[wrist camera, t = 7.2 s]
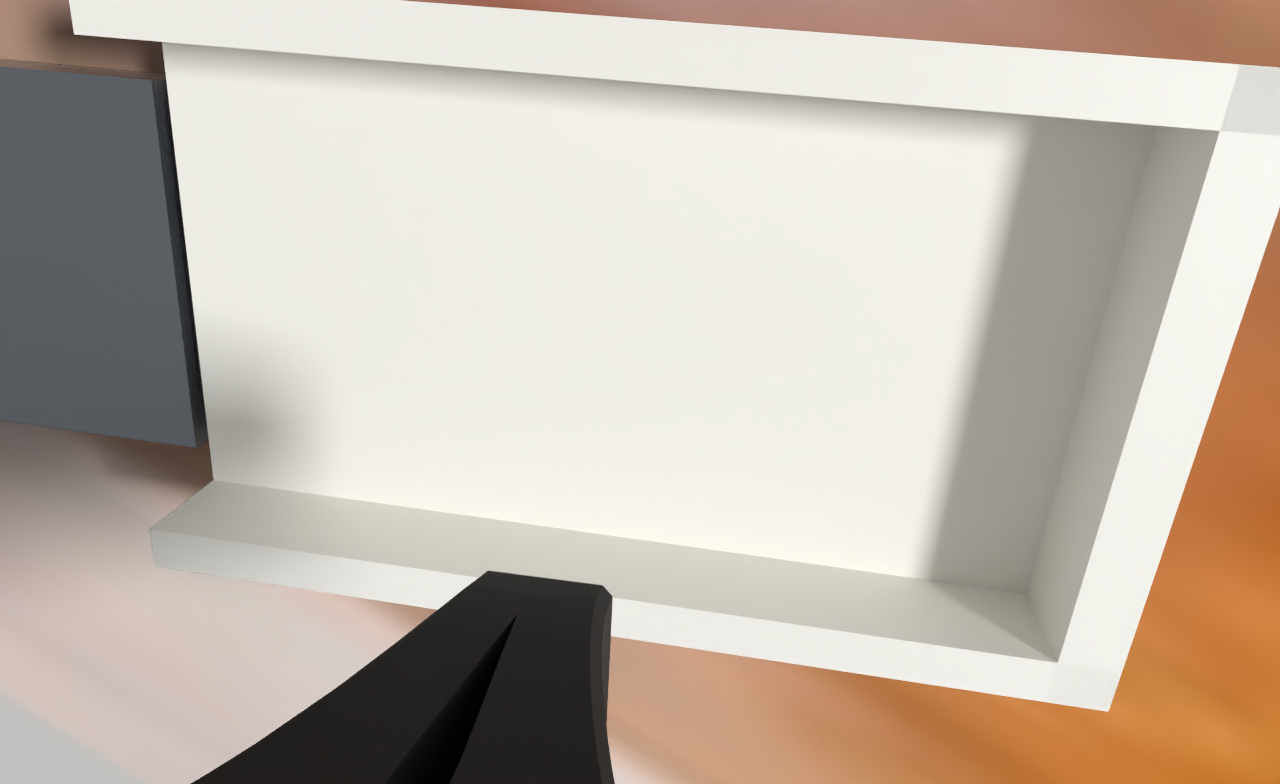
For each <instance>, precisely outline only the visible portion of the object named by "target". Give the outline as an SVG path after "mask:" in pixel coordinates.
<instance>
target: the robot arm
mask: <svg viewBox="0 0 1280 784" xmlns="http://www.w3.org/2000/svg"><path fill="white" fill-rule="evenodd" d="M612 600H613V596H612V595H611V594H610V593H609V592H608V591H607V590H606V588H605V587H604V586H603V585H597V584H589V583H581V582H574V581H566V580H558V579H550V578H543V577H535V576H527V575H519V574H512V573H504V572H496V571H487V572H486V573H484V574H483V575H482V576H480V577H479V578H478V579H476V580H475V581H474V582H472V583H471V584H470V585H468V586H467V587H466V588H464V589H463V590H462V591H461V592H459V593H458V594H457V595H456V596H454V597H453V598H452V599H451V600H449V601H448V602H447V603H446V604H444V605H443V606H442V607H441V608H439V609H438V610H437V611H436V612H434V613H433V614H432V615H431V616H429V617H428V618H427V619H426V620H424V621H423V622H422V623H420V624H419V625H418V626H417V627H415V628H414V629H413V630H412V631H410V632H409V633H408V634H407V635H405V636H404V637H403V638H402V639H400V640H399V641H398V642H396V643H395V644H394V645H393V646H391V647H390V648H389V649H387V650H386V651H385V652H383V653H382V654H381V655H379V656H378V657H377V658H375V659H374V660H373V661H371V662H370V663H369V664H367V665H366V666H365V667H363V668H362V669H361V670H360V671H358V672H357V673H356V674H354V675H353V676H352V677H350V678H349V679H348V680H346V681H345V682H344V683H342V684H341V685H340V686H338V687H337V688H336V689H334V690H333V691H331V692H330V693H328V694H327V695H326V696H324V697H323V698H321V699H320V700H318V701H317V702H315V703H314V704H312V705H311V706H310V707H308V708H307V709H305V710H304V711H302V712H301V713H299V714H298V715H297V716H295V717H294V718H292V719H291V720H289V721H288V722H286V723H285V724H283V725H282V726H281V727H279V728H278V729H276V730H275V731H273V732H272V733H270V734H269V735H268V736H266V737H265V738H263V739H262V740H260V741H259V742H257V743H256V744H254V745H253V746H251V747H250V748H248V749H246V750H245V751H243V752H242V753H240V754H239V755H237V756H235V757H234V758H232V759H231V760H229V761H227V762H226V763H224V764H223V765H221V766H219V767H218V768H216V769H214V770H213V771H211V772H210V773H208V774H206V775H205V776H203V777H201V778H200V779H198V780H196V781H195V782H193V783H191V784H615V783H614V778H613V772H612V766H611V759H610V752H609V745H608V738H607V728H606V720H607V700H608V680H609V660H610V640H611V620H612Z"/></svg>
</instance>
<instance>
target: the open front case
mask: <svg viewBox="0 0 1280 784" xmlns="http://www.w3.org/2000/svg"><path fill="white" fill-rule="evenodd" d="M69 4H70V11H71V18H72V24H73V31H74V34H75V35H87V36H99V37H110V38H122V39H134V40H146V41H158V42H162V48H163V56H164V65H165V73H166V82H167V90H168V99H169V107H170V116H171V124H172V133H173V141H174V149H175V158H176V166H177V175H178V183H179V192H180V200H181V209H182V217H183V226H184V234H185V243H186V251H187V260H188V268H189V277H190V285H191V293H192V302H193V310H194V319H195V327H196V336H197V344H198V353H199V361H200V370H201V378H202V387H203V395H204V404H205V412H206V420H207V429H208V437H209V446H210V454H211V463H212V471H213V481H212V482H210V483H209V484H208V485H206V486H205V487H204V488H202V489H201V490H200V491H198V492H197V493H196V494H194V495H193V496H192V497H191V498H189V499H188V500H187V501H185V502H184V503H183V504H181V505H180V506H179V507H177V508H176V509H175V510H174V511H172V512H171V513H170V514H168V515H167V516H166V517H164V518H163V519H162V520H160V521H159V522H158V523H157V524H155V525H154V526H153V527H151V528H150V529H149V531H150V538H151V545H152V551H153V558H154V564H155V567H161V568H168V569H175V570H181V571H188V572H194V573H201V574H207V575H214V576H221V577H227V578H234V579H240V580H247V581H253V582H260V583H267V584H273V585H280V586H286V587H293V588H299V589H306V590H313V591H319V592H326V593H332V594H339V595H345V596H352V597H359V598H365V599H372V600H378V601H385V602H391V603H398V604H405V605H411V606H418V607H424V608H431V609H437V610H438V609H439V608H441V607H442V606H443V605H444V604H446V603H447V602H448V601H449V600H451V599H452V598H453V597H454V596H456V595H457V594H458V593H459V592H461V591H462V590H463V589H464V588H466V587H467V586H468V585H470V584H471V583H472V582H474V581H475V580H476V579H478V578H479V577H480V576H482V575H483V574H484V573H486V572H487V571H496V572H504V573H512V574H519V575H527V576H535V577H543V578H550V579H558V580H566V581H574V582H581V583H589V584H597V585H603V586H604V587H605V588H606V590H607V591H608V592H609V593H610V594H611V595H612V596H613V600H612V620H611V636H615V637H621V638H628V639H634V640H641V641H648V642H654V643H661V644H667V645H674V646H680V647H687V648H694V649H700V650H707V651H713V652H720V653H726V654H733V655H740V656H746V657H753V658H759V659H766V660H772V661H779V662H786V663H792V664H799V665H805V666H812V667H818V668H825V669H832V670H838V671H845V672H851V673H858V674H864V675H871V676H878V677H884V678H891V679H897V680H904V681H910V682H917V683H924V684H930V685H937V686H943V687H950V688H956V689H963V690H970V691H976V692H983V693H989V694H996V695H1002V696H1009V697H1015V698H1022V699H1029V700H1035V701H1042V702H1048V703H1055V704H1061V705H1068V706H1075V707H1081V708H1088V709H1094V710H1101V711H1107V712H1109V709H1110V706H1111V703H1112V700H1113V697H1114V694H1115V691H1116V688H1117V685H1118V682H1119V679H1120V676H1121V673H1122V670H1123V667H1124V664H1125V661H1126V658H1127V656H1128V653H1129V650H1130V647H1131V644H1132V641H1133V638H1134V635H1135V632H1136V629H1137V626H1138V623H1139V620H1140V617H1141V614H1142V611H1143V608H1144V605H1145V602H1146V599H1147V597H1148V594H1149V591H1150V588H1151V585H1152V582H1153V579H1154V576H1155V573H1156V570H1157V567H1158V564H1159V561H1160V558H1161V555H1162V552H1163V549H1164V546H1165V543H1166V541H1167V538H1168V535H1169V532H1170V529H1171V526H1172V523H1173V520H1174V517H1175V514H1176V511H1177V508H1178V505H1179V502H1180V499H1181V496H1182V493H1183V490H1184V487H1185V484H1186V482H1187V479H1188V476H1189V473H1190V470H1191V467H1192V464H1193V461H1194V458H1195V455H1196V452H1197V449H1198V446H1199V443H1200V440H1201V437H1202V434H1203V431H1204V428H1205V425H1206V423H1207V420H1208V417H1209V414H1210V411H1211V408H1212V405H1213V402H1214V399H1215V396H1216V393H1217V390H1218V387H1219V384H1220V381H1221V378H1222V375H1223V372H1224V369H1225V366H1226V364H1227V361H1228V358H1229V355H1230V352H1231V349H1232V346H1233V343H1234V340H1235V337H1236V334H1237V331H1238V328H1239V325H1240V322H1241V319H1242V316H1243V313H1244V310H1245V307H1246V305H1247V302H1248V299H1249V296H1250V293H1251V290H1252V287H1253V284H1254V281H1255V278H1256V275H1257V272H1258V269H1259V266H1260V263H1261V260H1262V257H1263V254H1264V251H1265V248H1266V246H1267V243H1268V240H1269V237H1270V234H1271V231H1272V228H1273V225H1274V222H1275V219H1276V216H1277V213H1278V210H1279V207H1280V68H1278V67H1264V66H1251V65H1238V64H1225V63H1212V62H1199V61H1186V60H1173V59H1160V58H1147V57H1134V56H1121V55H1108V54H1094V53H1081V52H1068V51H1055V50H1042V49H1029V48H1016V47H1003V46H990V45H977V44H964V43H951V42H938V41H924V40H911V39H898V38H885V37H872V36H859V35H846V34H833V33H820V32H807V31H794V30H781V29H768V28H754V27H741V26H728V25H715V24H702V23H689V22H676V21H663V20H650V19H637V18H624V17H611V16H598V15H585V14H571V13H558V12H545V11H532V10H519V9H506V8H493V7H480V6H467V5H454V4H441V3H428V2H415V1H401V0H69Z"/></svg>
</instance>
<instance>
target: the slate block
mask: <svg viewBox="0 0 1280 784" xmlns="http://www.w3.org/2000/svg"><path fill="white" fill-rule="evenodd" d="M0 420H1V421H8V422H15V423H22V424H29V425H36V426H43V427H51V428H58V429H65V430H72V431H79V432H86V433H93V434H101V435H108V436H115V437H122V438H129V439H136V440H143V441H151V442H158V443H165V444H172V445H179V446H186V447H193V448H197V447H198V446H199V445H201V444H202V443H204V442H205V441H207V440H208V439H209V437H208V429H207V420H206V412H205V404H204V395H203V387H202V378H201V370H200V361H199V353H198V344H197V336H196V327H195V319H194V310H193V302H192V293H191V285H190V277H189V268H188V260H187V251H186V243H185V234H184V226H183V217H182V209H181V200H180V192H179V183H178V175H177V166H176V158H175V149H174V141H173V133H172V124H171V116H170V107H169V99H168V90H167V82H166V74H159V73H149V72H138V71H127V70H116V69H105V68H94V67H84V66H73V65H62V64H51V63H40V62H29V61H18V60H8V59H0Z"/></svg>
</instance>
